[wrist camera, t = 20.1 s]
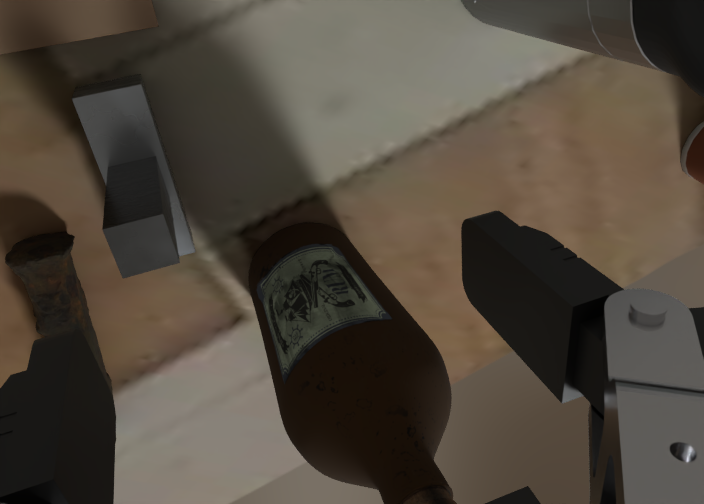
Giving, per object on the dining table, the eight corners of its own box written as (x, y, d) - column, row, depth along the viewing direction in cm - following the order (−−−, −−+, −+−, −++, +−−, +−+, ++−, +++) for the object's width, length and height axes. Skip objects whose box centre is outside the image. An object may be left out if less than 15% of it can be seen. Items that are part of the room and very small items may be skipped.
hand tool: (10, 233, 39) (-4, 266, 35) (74, 225, 40) (67, 257, 36) (75, 429, 48) (69, 473, 44) (125, 419, 49) (124, 460, 45)
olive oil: (380, 284, 51) (549, 524, 30) (277, 344, 50) (379, 630, 30) (332, 190, 45) (503, 412, 24) (215, 258, 44) (289, 542, 24)
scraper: (140, 73, 37) (144, 127, 27) (191, 233, 43) (210, 324, 33) (75, 87, 36) (55, 147, 26) (137, 247, 42) (140, 345, 32)
